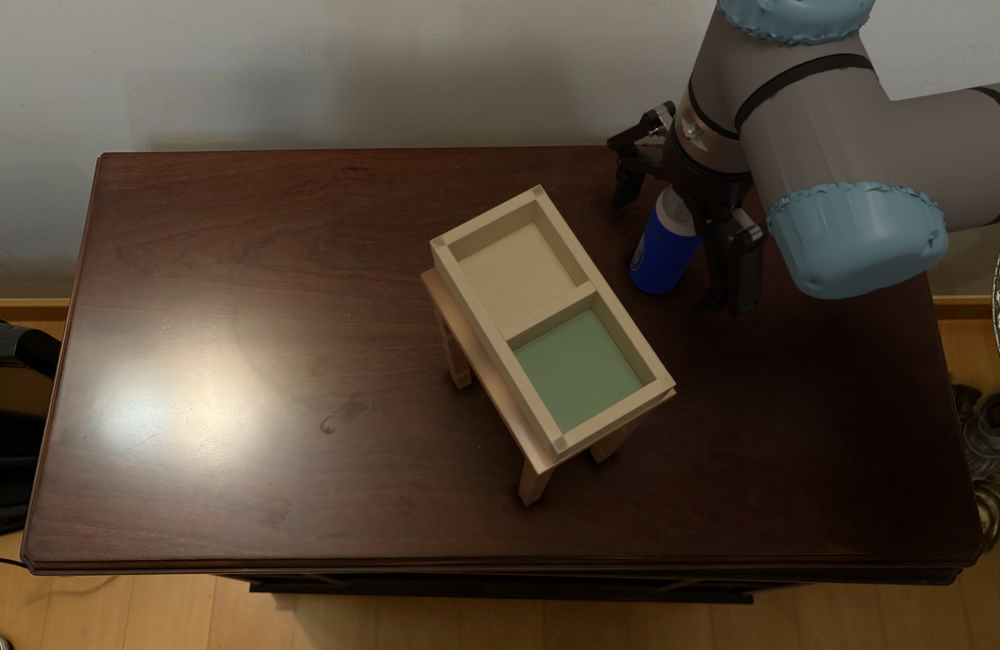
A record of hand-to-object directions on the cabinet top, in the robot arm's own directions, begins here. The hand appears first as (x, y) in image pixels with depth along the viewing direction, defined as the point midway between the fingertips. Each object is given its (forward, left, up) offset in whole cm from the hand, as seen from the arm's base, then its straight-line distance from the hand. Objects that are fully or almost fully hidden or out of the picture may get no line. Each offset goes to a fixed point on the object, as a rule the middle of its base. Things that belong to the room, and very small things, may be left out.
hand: (661, 255), depth 70 cm
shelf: (-7, +19, -4) cm, 21 cm away
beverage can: (0, 0, -4) cm, 4 cm away
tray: (-7, +19, +22) cm, 30 cm away
